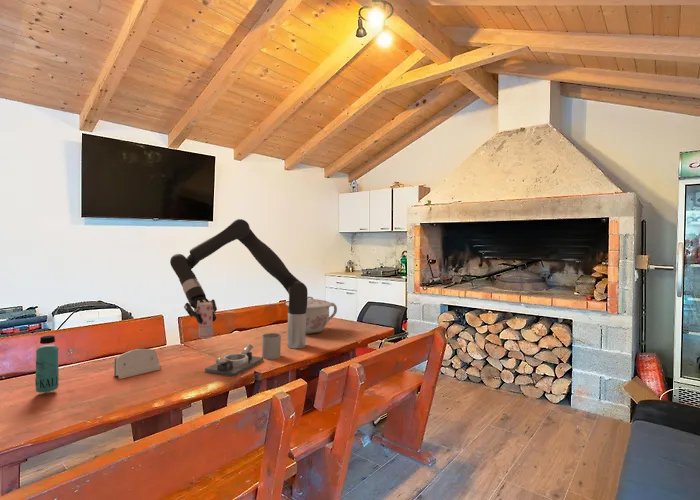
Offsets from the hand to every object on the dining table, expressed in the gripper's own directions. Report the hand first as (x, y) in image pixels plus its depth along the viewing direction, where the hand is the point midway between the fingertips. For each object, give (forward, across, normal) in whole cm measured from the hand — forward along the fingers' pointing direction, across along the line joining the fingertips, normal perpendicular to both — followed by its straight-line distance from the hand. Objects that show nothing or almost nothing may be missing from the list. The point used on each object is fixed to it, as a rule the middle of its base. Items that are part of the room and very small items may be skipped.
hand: (208, 321), depth 170 cm
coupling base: (+21, +6, +6) cm, 23 cm away
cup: (+21, +26, +6) cm, 34 cm away
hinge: (+5, -24, +22) cm, 33 cm away
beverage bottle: (+5, -54, +22) cm, 58 cm away
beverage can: (+4, 0, +6) cm, 8 cm away
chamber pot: (+6, +73, +22) cm, 76 cm away
